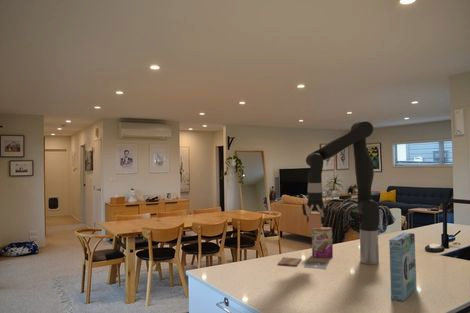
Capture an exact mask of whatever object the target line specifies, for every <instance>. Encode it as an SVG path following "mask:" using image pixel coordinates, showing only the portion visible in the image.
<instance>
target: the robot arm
mask: <svg viewBox="0 0 470 313" xmlns="http://www.w3.org/2000/svg"><path fill="white" fill-rule="evenodd" d="M373 132H374V125H373V124H372V123H371V121H367V120H361V121H357V122H355V123H353V124H352V125H351V127H350V131H349V132H347V133H346V134H344V135H341V136H340V137H338V138H336V139H334V140H332V141H330V142H329V143H326V144H325V145H324V146H322V147H321V148H319V149H316V150H315V151H313V152H311V153H308V154H307V156H306V158H305V164H307V165H308V166H309V167H310V169H309V172H308V173H307V203H302V204H301V208H302V214H303V215H304V216H306V222H307V224H308V225H309V217H308V214H309V213H311V212H319V213H320V214H321V216H322V217H321V224H323V225H324V224H325V217H327V216H328V215H329V207H330V204H329V203H324V202H323V196H324V195H323V182H322V180H323V179H322V177H323V176H322V173H323V169H324V161H326V160H328V159H331V158H332V157H334V156H337V154H339V153H340V152H342V151H344V150H345V149H346V148H348V147H350V146H351V145H352V146H353V156H354V158H353V159H354V172H355V180H356V188H357V189H356V190H357V201H356V202H357V203H356V204H357V211H358V213H359V214H360V215H361V222H360V224H359V254H360V255H359V262H360V263H362V264H367V265H380V257H379V255H380V254H379V253H380V252H379V251H380V250H379V225H380V206H379V204H378V203H377V202H376V201H375V200H373V197H372V196H373V195H372V185H373V181H374V176H375V175H374V164H373V163H374V162H373V160H372V157H371V155H370V153H369V150H368V148H367V140H366V139H367V138H368V137H370V136H372V134H373ZM307 207H308V208H309V210H308V211H307V209H306V208H307ZM322 208H325V212H323V209H322Z"/></svg>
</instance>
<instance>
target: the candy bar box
mask: <svg viewBox="0 0 470 313" xmlns="http://www.w3.org/2000/svg"><path fill="white" fill-rule="evenodd" d="M333 236H334V235H333V228H332V227H325V226H324V227H323V226H322V227H321V229H320V228H311V256H312V258H320V259H321V258H323V259H325V258H329V259H331V258H333V257H334V255H333V254H334V253H333V251H334V248H333V244H334V243H333V238H334V237H333Z"/></svg>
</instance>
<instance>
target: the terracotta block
mask: <svg viewBox="0 0 470 313" xmlns="http://www.w3.org/2000/svg"><path fill="white" fill-rule="evenodd" d="M308 217H309V224H308V229H312V228H320V229H321V227H323V226H324V223H323V224H321V217H322V216H321V214H320V213H319V211H312V212H311V213H309V214H308Z"/></svg>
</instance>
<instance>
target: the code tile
mask: <svg viewBox="0 0 470 313" xmlns="http://www.w3.org/2000/svg"><path fill="white" fill-rule="evenodd" d="M328 265H329V262H328V261H321V260H319V261H318V260H307V261H306V262H305V265H303V268H304V269H305V268H306V269H317V270H326V269H327V268H328Z"/></svg>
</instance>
